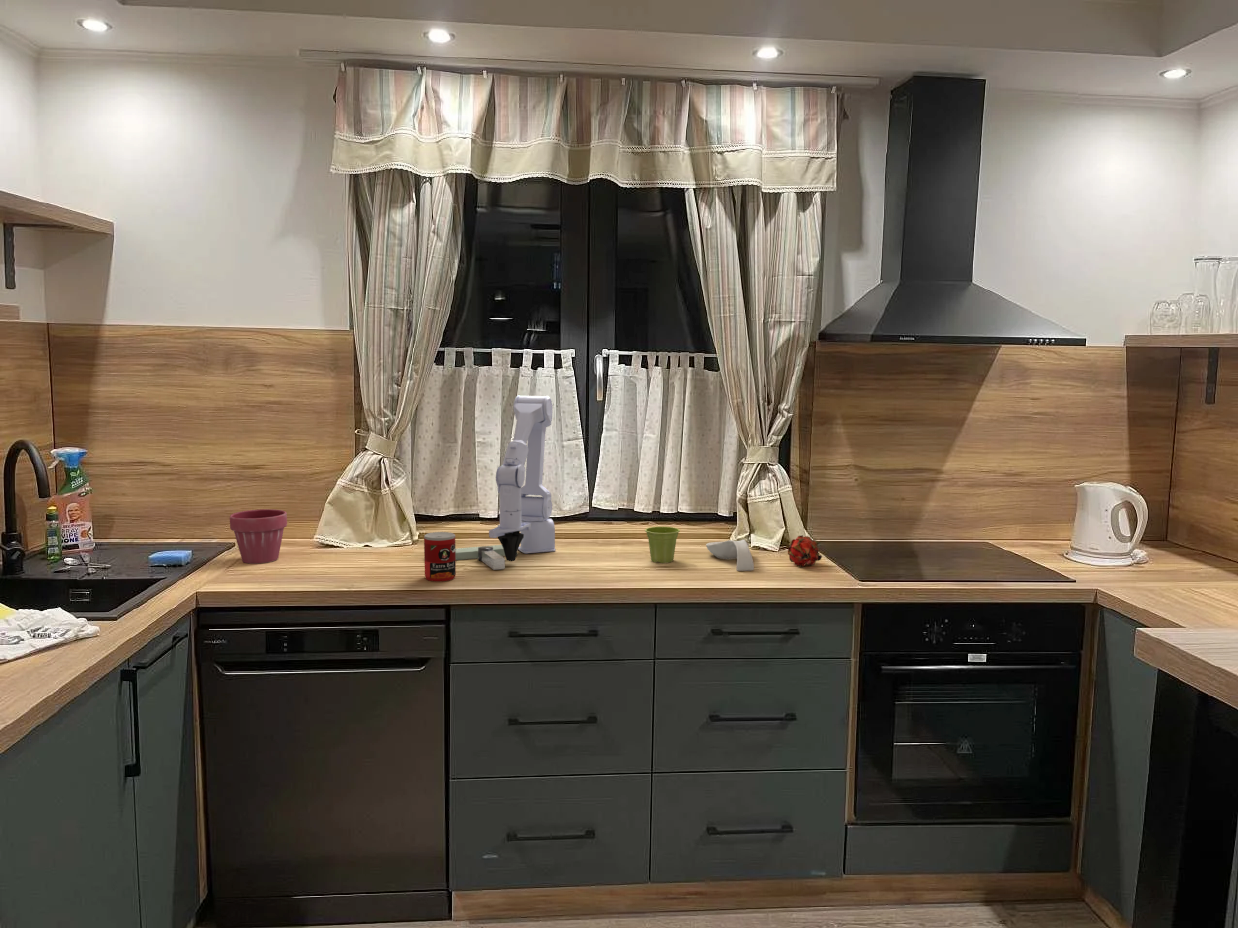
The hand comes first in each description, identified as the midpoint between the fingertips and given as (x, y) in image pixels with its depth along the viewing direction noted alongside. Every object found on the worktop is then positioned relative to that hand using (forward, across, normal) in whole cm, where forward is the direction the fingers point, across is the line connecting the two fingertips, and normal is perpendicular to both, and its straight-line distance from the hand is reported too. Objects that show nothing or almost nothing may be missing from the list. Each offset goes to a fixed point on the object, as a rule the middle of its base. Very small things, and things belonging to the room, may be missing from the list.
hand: (510, 560), depth 247 cm
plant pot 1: (+1, +37, -57) cm, 68 cm away
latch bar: (+1, +3, -4) cm, 5 cm away
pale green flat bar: (+1, -1, -15) cm, 15 cm away
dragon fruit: (+1, -47, +63) cm, 78 cm away
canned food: (+1, +22, -4) cm, 22 cm away
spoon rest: (+2, -40, +45) cm, 60 cm away
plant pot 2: (+1, -28, +30) cm, 41 cm away
